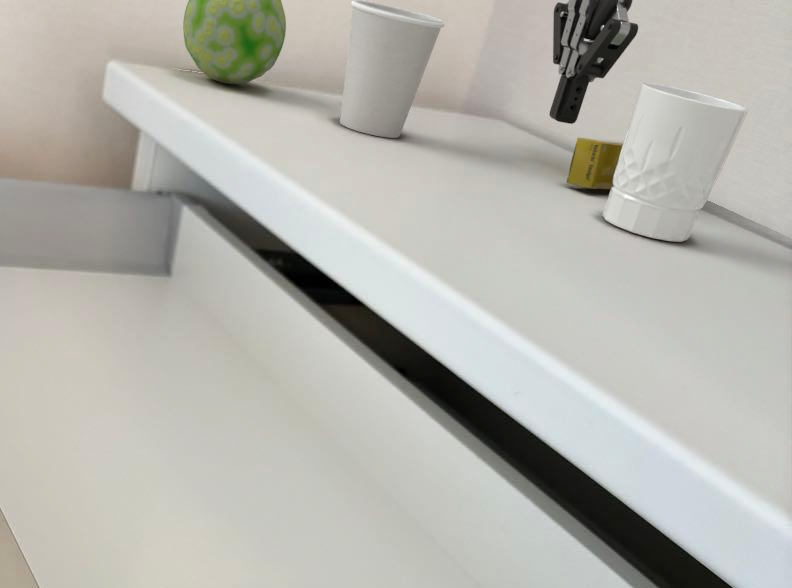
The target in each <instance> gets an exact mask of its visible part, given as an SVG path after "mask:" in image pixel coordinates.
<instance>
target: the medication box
mask: <svg viewBox="0 0 792 588" xmlns="http://www.w3.org/2000/svg"><path fill="white" fill-rule="evenodd" d="M623 143H624V140H612V139H601V138H589V137H577V138H576V141H575V145H574V149H573V154H572V157H571V160H570V165H569V170H568V175H567V178H566V184H570V185H573V186H577V187H582V188H585V189H591V190H592V189H593V190H611V188H612V187H613V186H614V185H613V177H614V173H615V170H616V167H617V164H618V161H619V156H620V152H621V149H622V146H623Z"/></svg>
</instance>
